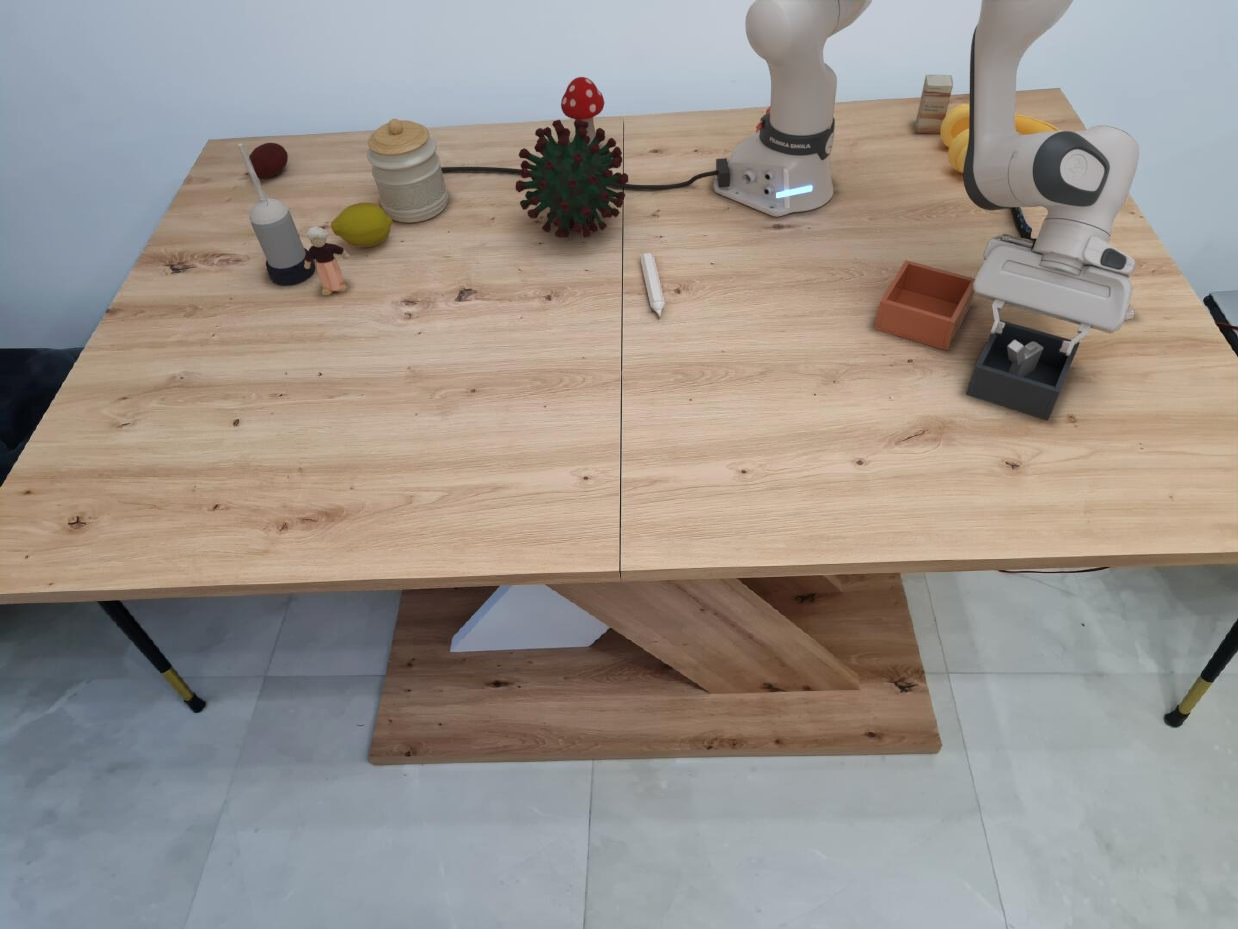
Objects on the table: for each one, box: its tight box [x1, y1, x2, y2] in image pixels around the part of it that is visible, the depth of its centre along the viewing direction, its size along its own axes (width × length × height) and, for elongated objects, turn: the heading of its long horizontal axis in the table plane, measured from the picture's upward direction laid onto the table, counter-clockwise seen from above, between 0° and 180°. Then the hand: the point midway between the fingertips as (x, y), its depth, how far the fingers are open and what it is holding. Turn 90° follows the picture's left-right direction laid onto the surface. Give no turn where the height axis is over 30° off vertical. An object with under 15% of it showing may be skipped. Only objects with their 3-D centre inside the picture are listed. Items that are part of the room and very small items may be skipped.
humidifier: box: [237, 142, 316, 287], centre depth 155 cm, size 8×8×25 cm
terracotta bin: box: [874, 259, 976, 351], centre depth 142 cm, size 12×12×6 cm
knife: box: [1010, 207, 1037, 251], centre depth 152 cm, size 31×3×4 cm, turn 170°
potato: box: [248, 142, 289, 179], centre depth 185 cm, size 8×9×6 cm
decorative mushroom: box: [560, 76, 605, 148], centre depth 179 cm, size 10×9×15 cm
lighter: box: [1007, 340, 1043, 377], centre depth 130 cm, size 7×2×8 cm, turn 124°
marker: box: [640, 252, 666, 317], centre depth 152 cm, size 3×2×16 cm
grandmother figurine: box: [304, 225, 350, 296], centre depth 155 cm, size 8×4×13 cm, turn 118°
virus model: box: [515, 119, 629, 239], centre depth 159 cm, size 20×20×20 cm
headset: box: [940, 103, 1061, 174], centre depth 169 cm, size 18×21×9 cm
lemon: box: [330, 202, 394, 248], centre depth 165 cm, size 11×8×8 cm
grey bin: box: [966, 318, 1081, 421], centre depth 131 cm, size 12×12×6 cm
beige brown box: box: [915, 74, 954, 135], centre depth 178 cm, size 5×4×10 cm
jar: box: [366, 118, 449, 223], centre depth 169 cm, size 13×13×18 cm
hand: (1029, 344), depth 128 cm, fingers open, 8 cm apart
